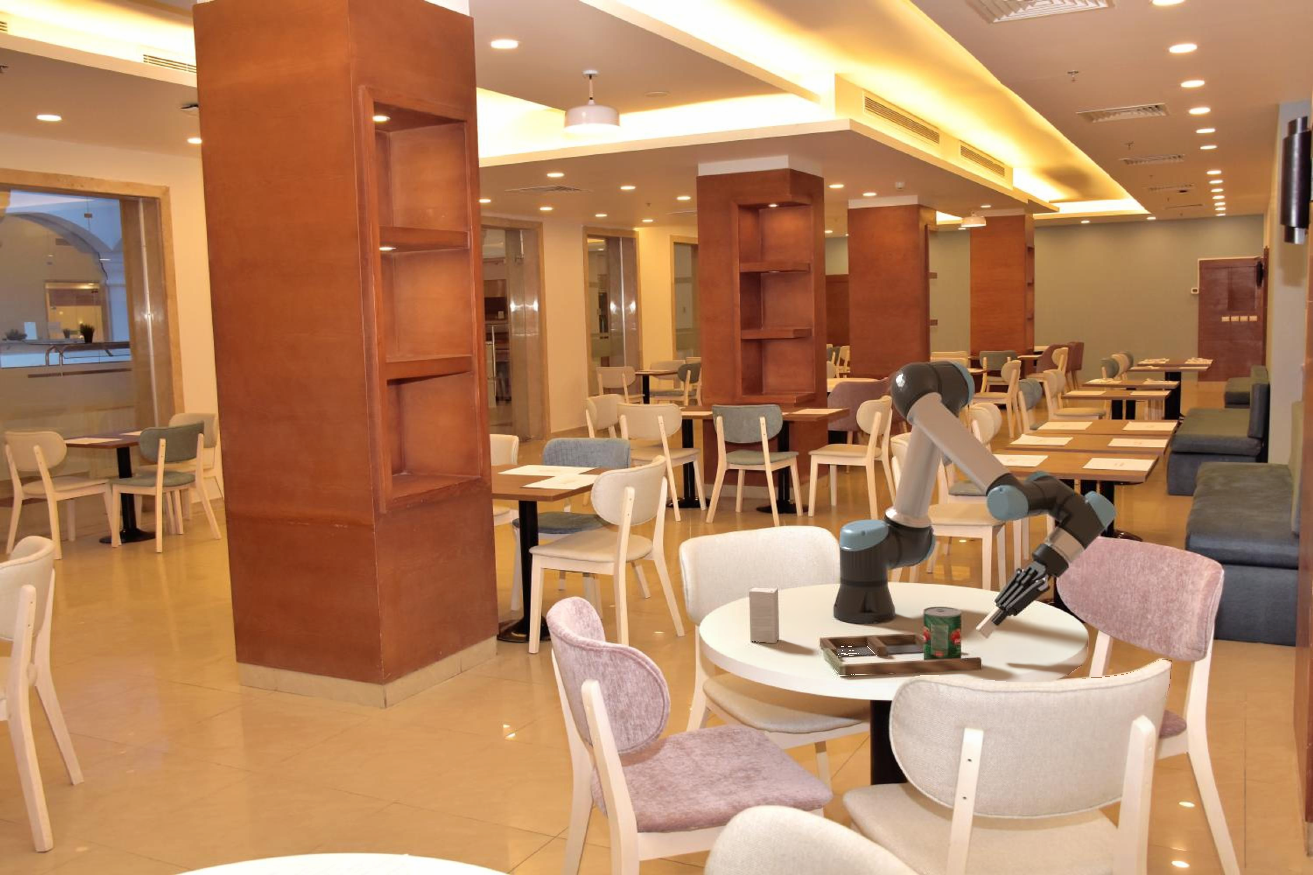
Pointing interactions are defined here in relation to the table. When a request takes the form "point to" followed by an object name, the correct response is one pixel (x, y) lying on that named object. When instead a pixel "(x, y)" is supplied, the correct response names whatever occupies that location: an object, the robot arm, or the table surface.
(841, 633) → the table surface
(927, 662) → the wooden rail frame
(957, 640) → the canned tomato
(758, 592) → the skincare box
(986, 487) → the robot arm
